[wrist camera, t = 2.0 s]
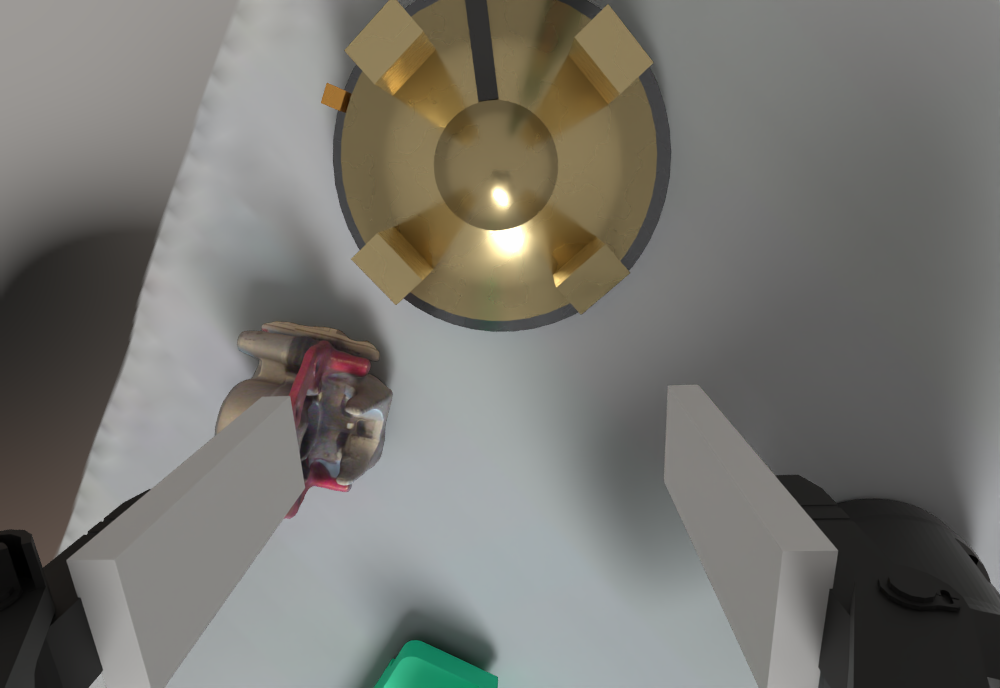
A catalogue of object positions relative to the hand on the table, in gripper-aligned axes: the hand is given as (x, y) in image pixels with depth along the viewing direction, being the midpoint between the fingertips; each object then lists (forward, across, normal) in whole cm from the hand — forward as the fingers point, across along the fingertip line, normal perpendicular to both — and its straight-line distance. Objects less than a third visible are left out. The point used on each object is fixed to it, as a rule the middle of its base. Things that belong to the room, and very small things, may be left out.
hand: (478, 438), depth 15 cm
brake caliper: (+22, +13, +8) cm, 26 cm away
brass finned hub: (+19, 0, -7) cm, 21 cm away
